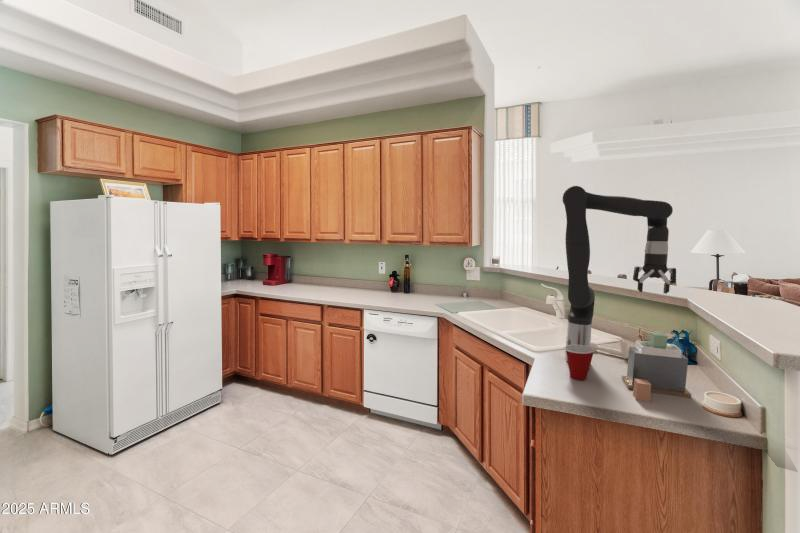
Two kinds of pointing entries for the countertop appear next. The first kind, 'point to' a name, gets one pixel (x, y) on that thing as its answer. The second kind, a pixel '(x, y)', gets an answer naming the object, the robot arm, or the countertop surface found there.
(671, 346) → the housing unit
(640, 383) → the rust block
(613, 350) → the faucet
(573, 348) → the plastic cup
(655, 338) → the sage block
